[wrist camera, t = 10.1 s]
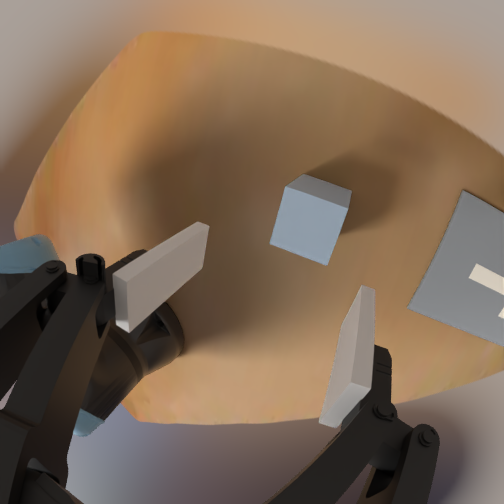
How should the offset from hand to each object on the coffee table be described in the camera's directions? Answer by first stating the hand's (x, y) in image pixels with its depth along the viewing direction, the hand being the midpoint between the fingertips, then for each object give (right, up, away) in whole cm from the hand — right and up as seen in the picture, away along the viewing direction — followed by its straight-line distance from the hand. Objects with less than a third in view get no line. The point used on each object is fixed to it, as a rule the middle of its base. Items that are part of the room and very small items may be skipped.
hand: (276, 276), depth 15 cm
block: (+5, +6, +13) cm, 15 cm away
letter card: (+25, -2, +8) cm, 27 cm away
